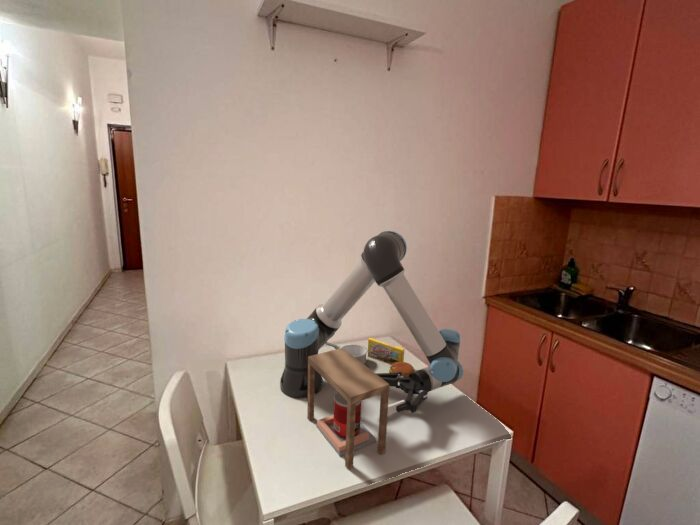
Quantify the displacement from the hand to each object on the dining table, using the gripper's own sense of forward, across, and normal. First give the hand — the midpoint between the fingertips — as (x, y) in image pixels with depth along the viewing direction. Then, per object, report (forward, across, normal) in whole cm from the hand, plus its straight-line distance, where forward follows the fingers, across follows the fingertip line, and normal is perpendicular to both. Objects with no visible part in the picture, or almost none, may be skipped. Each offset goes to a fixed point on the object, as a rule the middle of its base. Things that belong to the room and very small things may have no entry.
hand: (372, 398), depth 110 cm
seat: (+9, 0, -9) cm, 12 cm away
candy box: (-28, +30, -9) cm, 42 cm away
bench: (+9, 0, -9) cm, 12 cm away
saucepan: (-14, +39, -9) cm, 42 cm away
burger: (-26, +17, -9) cm, 33 cm away
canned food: (+9, 0, -8) cm, 12 cm away
